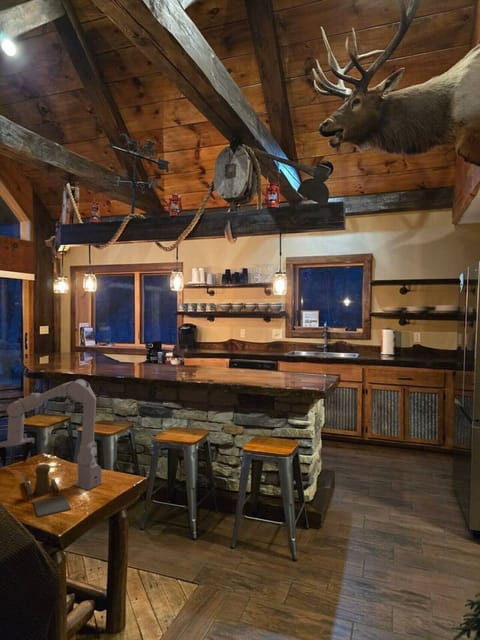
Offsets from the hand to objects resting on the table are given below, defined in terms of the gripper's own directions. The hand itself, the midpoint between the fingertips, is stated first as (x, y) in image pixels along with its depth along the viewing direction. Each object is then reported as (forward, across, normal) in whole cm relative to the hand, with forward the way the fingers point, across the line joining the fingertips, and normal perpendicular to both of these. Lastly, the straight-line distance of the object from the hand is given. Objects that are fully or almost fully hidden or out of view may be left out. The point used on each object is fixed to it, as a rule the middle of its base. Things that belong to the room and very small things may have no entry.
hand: (14, 463), depth 168 cm
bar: (+9, -3, +8) cm, 13 cm away
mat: (+9, -5, +28) cm, 30 cm away
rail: (+9, -11, +15) cm, 21 cm away
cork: (+9, -7, +14) cm, 18 cm away
